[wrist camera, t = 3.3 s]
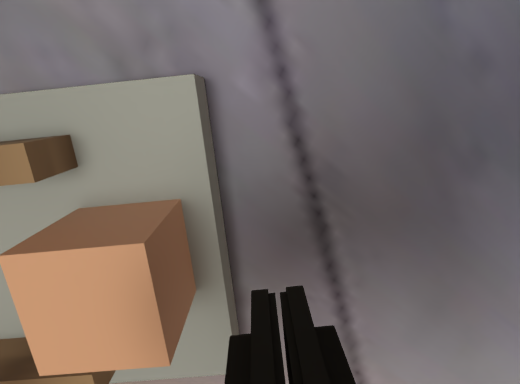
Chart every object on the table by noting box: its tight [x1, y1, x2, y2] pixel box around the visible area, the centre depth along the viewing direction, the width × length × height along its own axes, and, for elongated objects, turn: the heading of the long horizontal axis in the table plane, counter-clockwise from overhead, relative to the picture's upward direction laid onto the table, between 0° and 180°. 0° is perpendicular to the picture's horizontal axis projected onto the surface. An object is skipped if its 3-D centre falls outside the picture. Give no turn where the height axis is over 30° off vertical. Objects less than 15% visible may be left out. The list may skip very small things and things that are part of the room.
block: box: [0, 199, 196, 376], centre depth 14 cm, size 5×5×5 cm
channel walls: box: [0, 135, 116, 384], centre depth 15 cm, size 7×12×3 cm, turn 6°
